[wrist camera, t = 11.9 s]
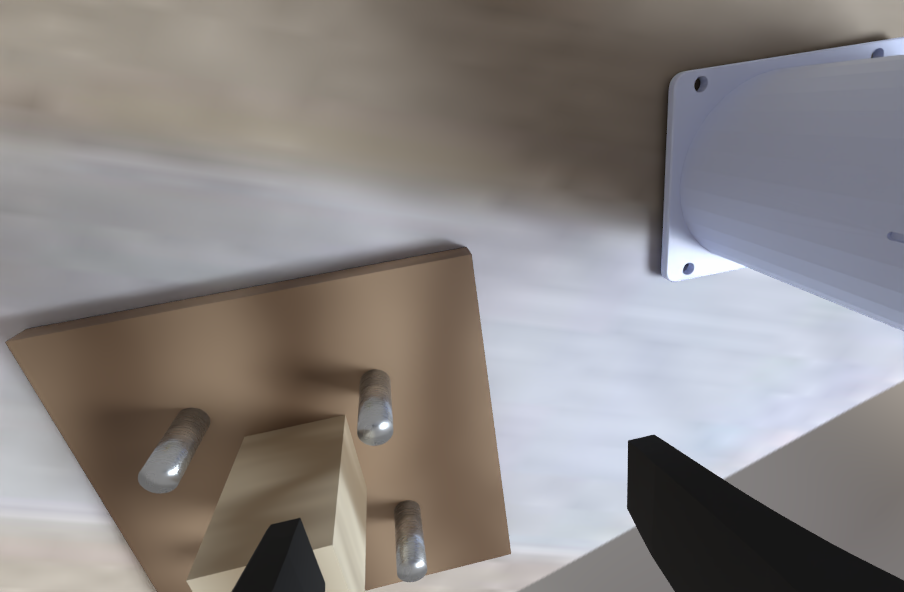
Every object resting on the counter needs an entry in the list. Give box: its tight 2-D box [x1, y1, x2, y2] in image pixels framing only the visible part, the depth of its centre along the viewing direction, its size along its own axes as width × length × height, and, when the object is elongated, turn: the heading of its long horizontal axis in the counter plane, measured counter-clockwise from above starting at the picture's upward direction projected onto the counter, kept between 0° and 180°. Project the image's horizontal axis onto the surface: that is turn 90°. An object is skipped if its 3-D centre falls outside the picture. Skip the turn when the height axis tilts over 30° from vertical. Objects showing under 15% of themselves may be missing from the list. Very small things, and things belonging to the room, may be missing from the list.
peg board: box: [5, 247, 511, 592], centre depth 18 cm, size 16×16×4 cm
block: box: [186, 415, 367, 592], centre depth 16 cm, size 4×4×6 cm
